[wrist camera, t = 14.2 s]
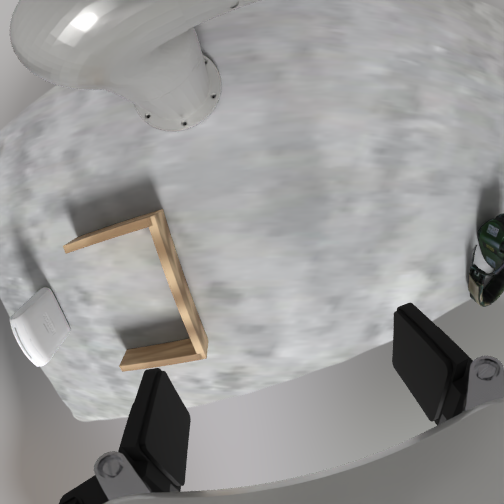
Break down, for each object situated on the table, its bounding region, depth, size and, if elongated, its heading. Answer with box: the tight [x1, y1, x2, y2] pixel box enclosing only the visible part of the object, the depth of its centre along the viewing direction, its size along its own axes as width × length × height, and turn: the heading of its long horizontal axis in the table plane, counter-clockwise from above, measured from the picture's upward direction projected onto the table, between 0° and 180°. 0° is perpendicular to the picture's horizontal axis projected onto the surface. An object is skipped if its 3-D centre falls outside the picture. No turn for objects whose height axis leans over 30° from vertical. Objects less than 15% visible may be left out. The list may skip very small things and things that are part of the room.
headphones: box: [468, 214, 504, 307], centre depth 44 cm, size 13×13×20 cm
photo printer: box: [10, 287, 71, 367], centre depth 39 cm, size 10×4×12 cm, turn 14°
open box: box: [63, 209, 208, 371], centre depth 42 cm, size 23×16×5 cm
